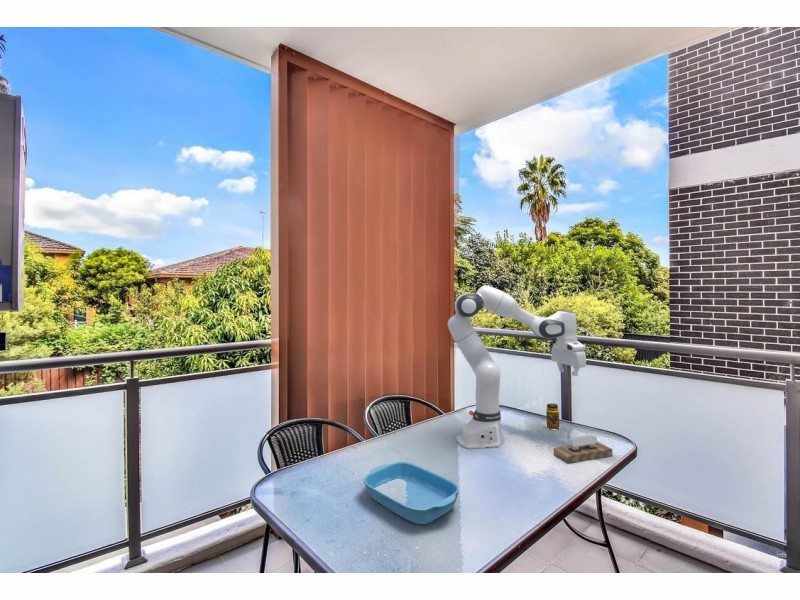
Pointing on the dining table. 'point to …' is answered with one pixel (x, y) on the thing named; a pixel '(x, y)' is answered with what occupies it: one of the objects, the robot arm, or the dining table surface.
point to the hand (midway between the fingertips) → (568, 373)
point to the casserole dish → (414, 491)
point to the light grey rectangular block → (582, 442)
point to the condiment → (552, 416)
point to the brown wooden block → (582, 453)
